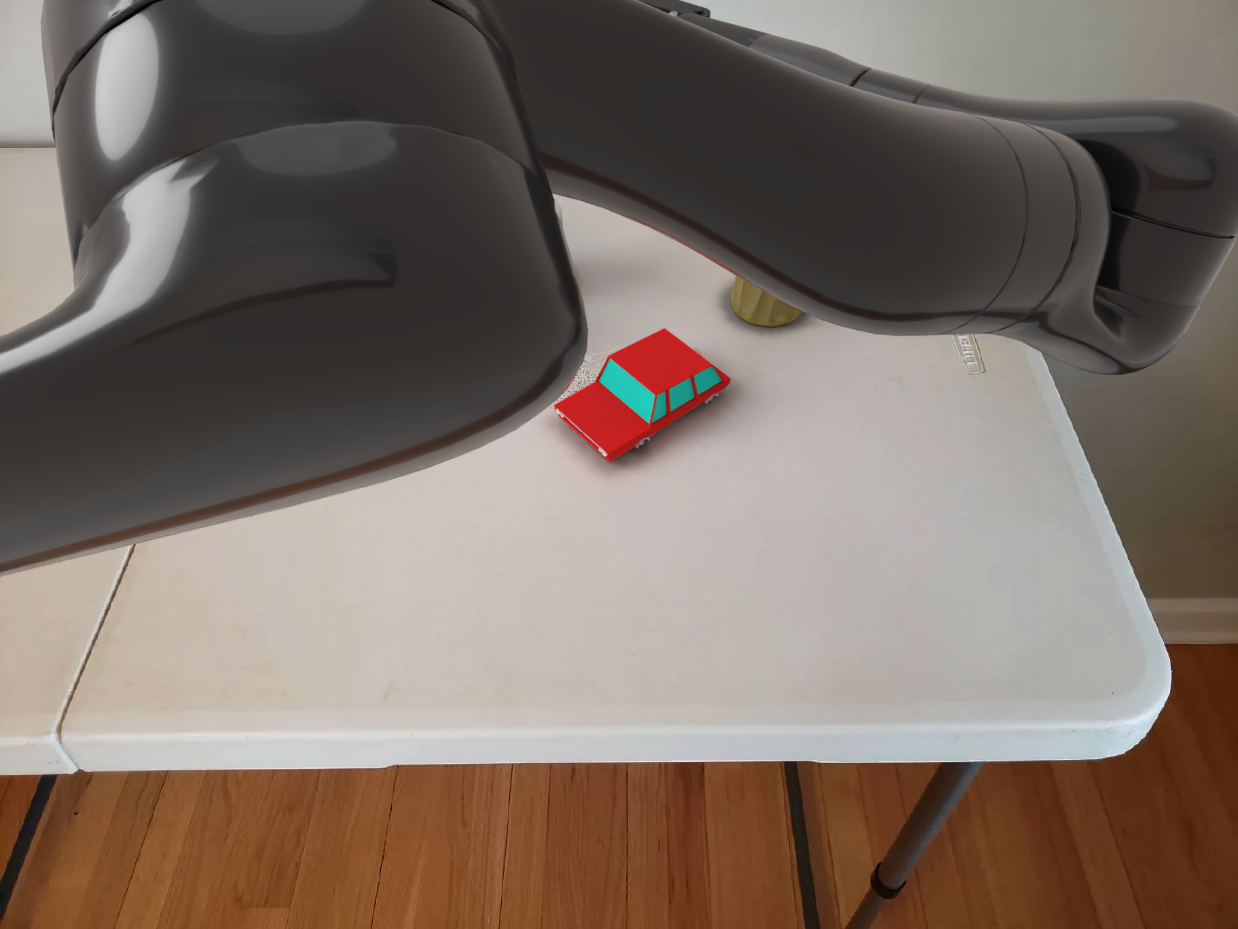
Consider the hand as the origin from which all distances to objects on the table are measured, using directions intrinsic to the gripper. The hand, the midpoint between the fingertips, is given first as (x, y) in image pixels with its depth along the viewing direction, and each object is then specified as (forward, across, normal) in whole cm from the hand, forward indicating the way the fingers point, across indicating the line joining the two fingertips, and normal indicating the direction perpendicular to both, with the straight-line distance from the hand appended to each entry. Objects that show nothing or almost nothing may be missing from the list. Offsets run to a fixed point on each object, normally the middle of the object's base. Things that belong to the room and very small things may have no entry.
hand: (473, 37), depth 48 cm
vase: (-10, -20, +28) cm, 36 cm away
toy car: (-7, -5, +28) cm, 30 cm away
